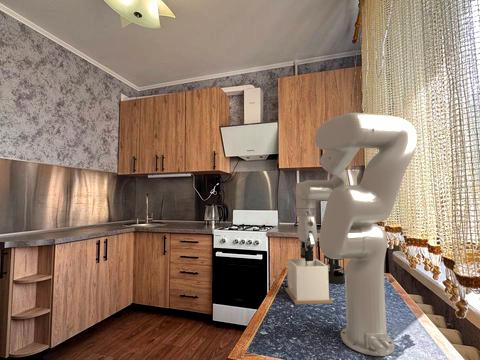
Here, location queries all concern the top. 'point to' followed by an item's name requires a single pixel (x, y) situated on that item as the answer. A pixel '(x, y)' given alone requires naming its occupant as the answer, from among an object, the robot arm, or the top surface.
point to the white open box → (308, 282)
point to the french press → (335, 271)
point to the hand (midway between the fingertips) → (306, 258)
